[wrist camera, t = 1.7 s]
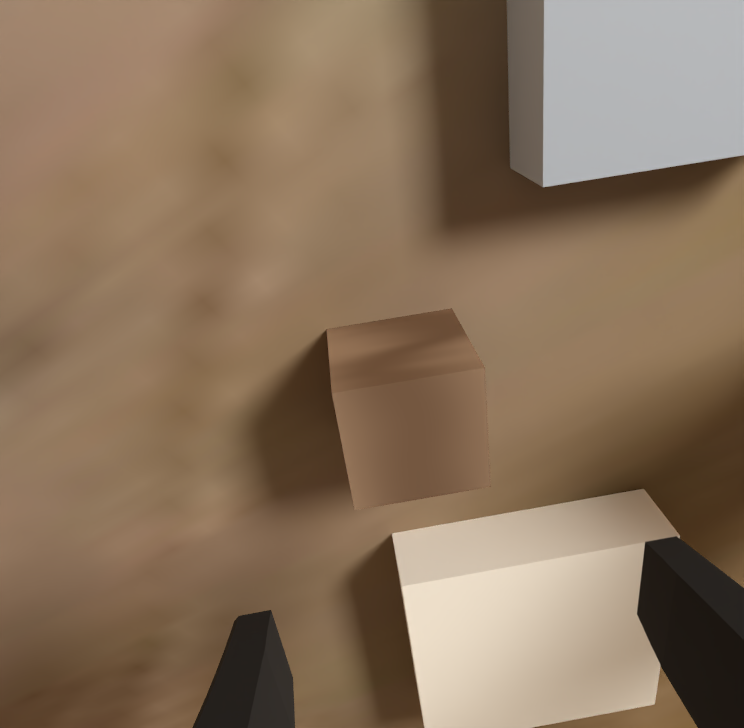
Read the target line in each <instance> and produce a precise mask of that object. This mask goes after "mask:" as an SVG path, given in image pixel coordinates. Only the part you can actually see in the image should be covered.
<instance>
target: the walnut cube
mask: <svg viewBox="0 0 744 728" xmlns="http://www.w3.org/2000/svg"><path fill="white" fill-rule="evenodd" d="M327 341H328V353H329V366H330V378H331V390H332V397H333V402H334V407H335V413H336V418H337V423H338V428H339V433H340V438H341V443H342V448H343V453H344V459H345V464H346V469H347V474H348V479H349V484H350V489H351V494H352V499H353V505H354V510H359V509H365V508H371V507H377V506H382V505H388V504H394V503H400V502H405V501H411V500H417V499H423V498H429V497H434V496H440V495H446V494H452V493H458V492H463V491H469V490H475V489H481V488H486V487H491V484H490V463H489V442H488V422H487V401H486V380H485V367H484V365H483V363H482V362H481V360H480V358H479V356H478V354H477V353H476V351H475V349H474V347H473V346H472V344H471V342H470V340H469V338H468V337H467V335H466V333H465V331H464V329H463V328H462V326H461V324H460V322H459V321H458V319H457V317H456V315H455V313H454V312H453V310H452V309H446V310H440V311H434V312H428V313H422V314H415V315H409V316H403V317H397V318H391V319H385V320H379V321H373V322H367V323H361V324H355V325H349V326H343V327H337V328H331V329H327Z"/></svg>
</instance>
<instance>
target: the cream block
mask: <svg viewBox="0 0 744 728" xmlns="http://www.w3.org/2000/svg"><path fill="white" fill-rule="evenodd" d="M675 536H677V537H678V538H679V539H680V535H679V534H678V532H677V531H676V530H675V528H674V527H673V526H672V525H671V523H670V522H669V521H668V519H667V518H666V517H665V516H664V514H663V513H662V512H661V510H660V509H659V508H658V507H657V505H656V504H655V503H654V501H653V500H652V499H651V497H650V496H649V495H648V494H647V492H646V491H645V490H644V489H639V490H634V491H628V492H622V493H617V494H611V495H606V496H600V497H594V498H589V499H583V500H578V501H572V502H566V503H561V504H555V505H549V506H544V507H538V508H533V509H527V510H521V511H516V512H510V513H505V514H499V515H493V516H488V517H482V518H477V519H471V520H465V521H460V522H454V523H449V524H443V525H437V526H432V527H426V528H421V529H415V530H409V531H404V532H398V533H393V534H392V537H393V544H394V550H395V556H396V562H397V568H398V574H399V580H400V586H401V592H402V598H403V605H404V611H405V617H406V623H407V629H408V635H409V641H410V647H411V653H412V659H413V666H414V672H415V678H416V684H417V690H418V696H419V701H420V707H421V712H422V718H423V723H424V728H532V727H538V726H543V725H548V724H554V723H559V722H564V721H569V720H575V719H580V718H585V717H591V716H596V715H601V714H606V713H612V712H617V711H622V710H628V709H633V708H638V707H643V706H649V705H654V704H655V699H656V692H657V685H658V679H659V672H660V666H661V665H660V663H659V661H658V659H657V657H656V654H655V652H654V650H653V648H652V646H651V644H650V642H649V640H648V638H647V635H646V633H645V631H644V629H643V626H642V624H641V622H640V620H639V618H638V615H637V608H638V599H639V591H640V582H641V574H642V565H643V556H644V548H645V542H647V541H653V540H658V539H664V538H669V537H675Z"/></svg>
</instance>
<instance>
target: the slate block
mask: <svg viewBox="0 0 744 728" xmlns="http://www.w3.org/2000/svg"><path fill="white" fill-rule="evenodd" d="M507 38H508V87H509V137H510V168H511V169H513V170H514V171H516V172H518V173H519V174H521V175H523V176H524V177H526V178H528V179H530V180H531V181H533V182H535V183H536V184H538V185H540V186H541V187H549V186H555V185H561V184H567V183H573V182H580V181H586V180H592V179H598V178H605V177H611V176H617V175H623V174H630V173H636V172H642V171H648V170H655V169H661V168H667V167H673V166H680V165H686V164H692V163H698V162H704V161H711V160H717V159H723V158H729V157H736V156H742V155H744V0H507Z"/></svg>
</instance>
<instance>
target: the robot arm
mask: <svg viewBox="0 0 744 728" xmlns="http://www.w3.org/2000/svg"><path fill="white" fill-rule="evenodd" d="M637 615H638V618H639V620H640V622H641V624H642V626H643V629H644V631H645V633H646V635H647V638H648V640H649V642H650V644H651V646H652V648H653V650H654V652H655V654H656V657H657V659H658V661H659V663H660V665H661V667H662V669H663V670H664V672H665V674H666V676H667V677H668V679H669V681H670V682H671V684H672V686H673V687H674V689H675V691H676V692H677V694H678V696H679V697H680V699H681V701H682V702H683V704H684V706H685V707H686V709H687V711H688V712H689V714H690V715H691V717H692V719H693V720H694V722H695V724H696V725H697V727H698V728H744V588H743V587H742V586H740V585H739V584H738V583H737V582H735V581H734V580H733V579H731V578H730V577H729V576H727V575H726V574H725V573H724V572H722V571H721V570H720V569H718V568H717V567H716V566H714V565H713V564H712V563H711V562H709V561H708V560H707V559H705V558H704V557H703V556H702V555H700V554H699V553H698V552H696V551H695V550H694V549H693V548H691V547H690V546H689V545H687V544H686V543H685V542H683V541H682V540H681V539H679V538H678V537H677V536H675V537H669V538H664V539H658V540H653V541H647V542H645V548H644V556H643V565H642V574H641V582H640V591H639V599H638V608H637ZM193 728H295V717H294V693H293V677H292V674H291V671H290V668H289V664H288V661H287V658H286V655H285V652H284V649H283V646H282V643H281V640H280V637H279V633H278V630H277V627H276V624H275V621H274V618H273V615H272V612H271V610H269V611H264V612H258V613H253V614H247V615H242V616H239V617H238V618H237V619H236V620H235V621H234V624H233V627H232V630H231V633H230V636H229V639H228V641H227V644H226V647H225V650H224V653H223V655H222V658H221V661H220V663H219V666H218V668H217V671H216V673H215V676H214V678H213V681H212V683H211V686H210V688H209V691H208V693H207V696H206V698H205V700H204V703H203V705H202V707H201V710H200V712H199V714H198V716H197V719H196V721H195V723H194V726H193Z"/></svg>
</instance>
